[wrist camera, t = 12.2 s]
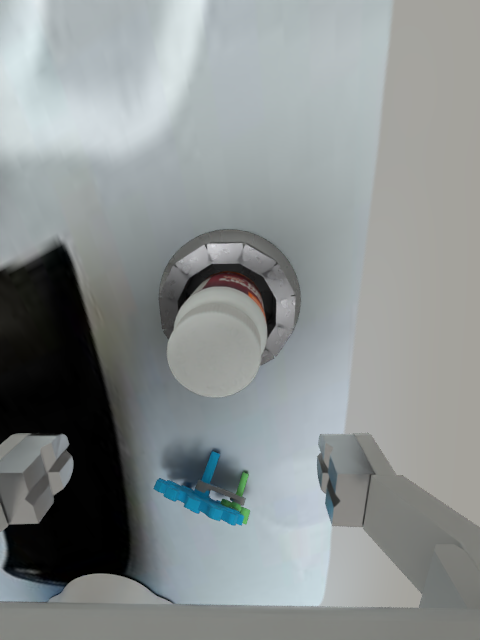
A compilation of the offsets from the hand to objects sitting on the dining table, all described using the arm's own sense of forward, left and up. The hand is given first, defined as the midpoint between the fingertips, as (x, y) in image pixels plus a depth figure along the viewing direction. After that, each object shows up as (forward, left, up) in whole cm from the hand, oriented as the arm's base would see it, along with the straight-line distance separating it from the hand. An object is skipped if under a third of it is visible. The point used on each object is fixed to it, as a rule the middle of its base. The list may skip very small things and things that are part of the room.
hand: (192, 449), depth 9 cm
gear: (-21, +3, -19) cm, 28 cm away
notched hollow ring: (0, 0, -19) cm, 19 cm away
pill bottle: (0, 0, -18) cm, 18 cm away
